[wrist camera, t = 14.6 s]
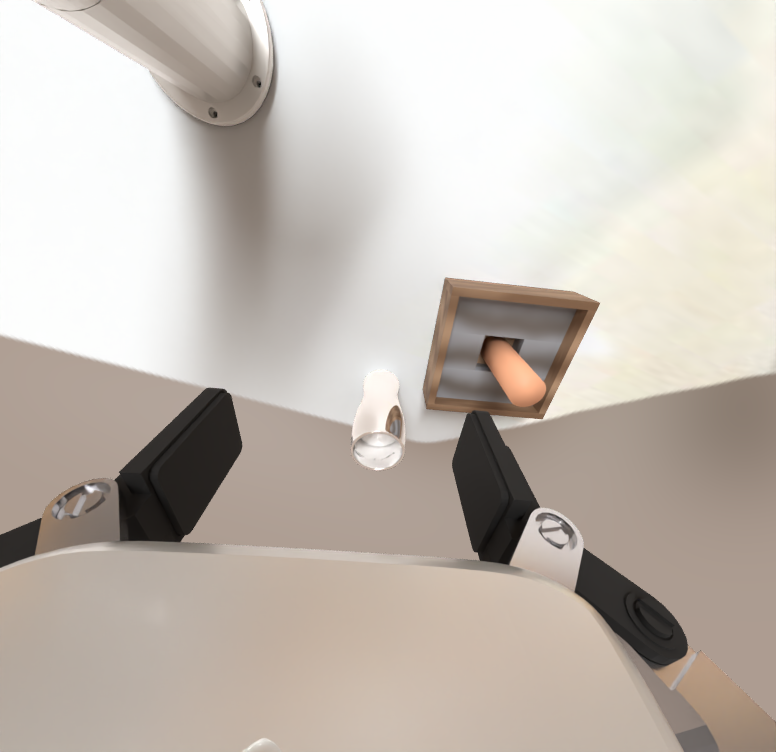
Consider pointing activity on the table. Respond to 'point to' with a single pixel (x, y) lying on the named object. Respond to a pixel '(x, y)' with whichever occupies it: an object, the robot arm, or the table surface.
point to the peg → (512, 372)
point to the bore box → (517, 326)
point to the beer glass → (379, 424)
